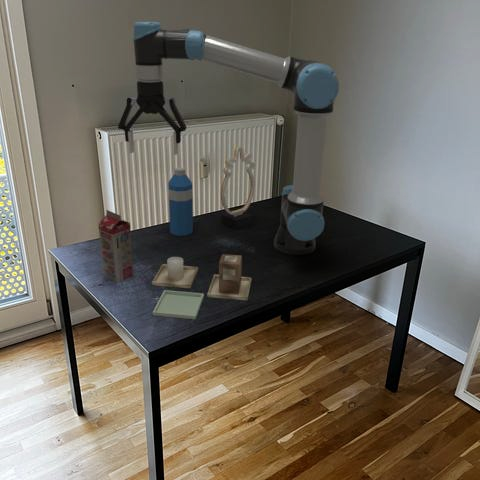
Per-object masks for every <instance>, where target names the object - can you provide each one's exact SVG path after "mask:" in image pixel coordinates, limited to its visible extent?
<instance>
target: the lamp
mask: <svg viewBox="0 0 480 480" xmlns="http://www.w3.org/2000/svg"><path fill="white" fill-rule="evenodd" d="M244 152H245V151H244V148H243V147H241V146H236V147H235V148H234V152H233V158H231V157H227V158H226V159H225V165H226V166H225V167H224V168H223V174H224V175H225V176H224V178H223V181H222V184H221V187H220V200H221V205H222V207H223V209H224V211H225V212H224V213H221V216H220V217H221V219H220V222H221V223H222V224H224V225H226V226H228V227H230V228H232V229H234V230H237V229H240V228H243V227H246V226H250V225H252V220H253V219H252V218H253V215H252V214H249V213H247V212H246V211H247V210H248V209H249V207H250V205H251V203H252V200H253V198H254V193H255V186H256V184H255V183H256V182H255V177H254V174H253V173H254V172H252V171H253V170H254V169H255V168H256V164H255V162H254V161H251V159H252V158H253V154H252V153H249V152H247V153H244ZM239 158H240V160H241V163H244V164H246V165H250V166H248V167H246V172H247V174H248V177H249V181H250V188H249V193H248V198H247V200H246V202H245V204H244V206H243V207H242V208H239V209H237V208H236V209H233V210H230V209H229V208H228V205H227V202H226V197H225V196H226V195H225V193H226V188H227V184H228V181H229V179H230V177H231V175H232V172H230V171H229V170H231V169H233V168H234V165H233V163H234V164H236V163H237V162H238V160H239Z"/></svg>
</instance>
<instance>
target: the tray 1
mask: <svg viewBox="0 0 480 480" xmlns="http://www.w3.org/2000/svg"><path fill="white" fill-rule="evenodd" d="M183 268H184V278H183V279H182V280H179V281H171V280H169V279H168V269H167V263H164V264H163V263H162V264H161V265H160V268H159V269H158V271H157V272H156V274H155V276H154V278H153V280H152V281H151V285H152V286H157V287H158V286H159V287H168V288H170V287H171V288H179V289H180V288H181V289H191V288H192V286H193V283H194V281H195V278H196V277H197V274H198V271H199V266H188V265H183Z"/></svg>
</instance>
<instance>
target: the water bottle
mask: <svg viewBox="0 0 480 480" xmlns="http://www.w3.org/2000/svg"><path fill="white" fill-rule="evenodd" d="M167 184H168V185H167V188H168V207H169V208H168V210H169V231H170V234H171V235H173V234H174V236H176V235H177V237H180V236H181V237H183V236H184V237H185V236H188V235H191V234H192V233H194V224H193V223H194V215H193V213H194V211H193V210H194V209H193V208H194V207H193V205H194V203H193V200H194V199H193V182H192V180H191V179H190V178H189V177H188V175H187V174H186V168H185V167H175V168H174V174H173V175H172V177H171V178H170V179H169V181H168V182H167Z"/></svg>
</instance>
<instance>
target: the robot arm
mask: <svg viewBox="0 0 480 480" xmlns="http://www.w3.org/2000/svg"><path fill="white" fill-rule="evenodd" d="M133 45H134V46H133V47H134V59H135V77H136V78H135V79H137V82H136V91H137V97H132V96H129V97H127V98H126V106H125V108H124V111H123V113H122V115H121V118H120V121H119V122H118V125H117V128H118V129H119V130H123V131H124V137H125V142H127V143H128V149H129V154H133V153H135V142H134V130H133V129H131V128H132V127H133V125H134V124H135V123H136V122H137V121H138V119H140V117H141V116H142V114H143V113H144V114H147V115H149V114H153V115H157V114H159V115H160V116H161V117H162V118H163V119H164V120H165V121H166V122H167V123H168V125H169V126H170V127H171V129H172V130H173V133H172V138H173V140H172V141H173V155H174V156H177V154H179V153H178V152H179V150H178V149H179V148H178V144H180V143H181V142H182V137H181V136H182V135H181V132H185V131H186V130H187V125H186V123H185V121H184V119H183V117H182V115H181V114H180V112H179V109H178V107H177V105H176V100H175V99H176V98H174V97H171V98H165V95H164V92H165V91H164V82H163V81H162V80H163V79H164V76H163V75H164V73H163V70H164V69H163V59H166V60H170V59H171V60H190V61H193V60H198V61H202V62H205V63H209V64H211V65H214V66H215V65H216V66H219V67H222V68H226V69H228V70H232V71H236V72H239V73H243V74H245V75H249V76H253V77H256V78H258V79H263V80H265V81H269V82H272V83H276V84H277V85H278V87H279V88H281V89H284V90H287V91H289V92H291V93H293V94H294V96H293V97H294V99H293V112H294V114H296V115H297V128H296V141H295V145H296V146H295V153H294V154H295V156H294V169H293V183H292V184H290V185H289V184H288V185H286V186H284V187H283V188H282V192H281V208H280V225H279V228H278V229H277V232H276V234H275V237H274V240H273V246H274V248H275V250H277V251H278V252H280V253H282V254H286V255H290V256H305V255H309V254H312V253H313V252H314V251H315V250H316V238H317V237H319V236H321V234H322V232H324V228H325V218H324V216H323V211H324V209H323V208H324V200H325V199H324V196H323V195H322V194H321V193H320V192H321V191H320V190H321V184H322V183H321V181H322V173H323V161H324V152H325V143H326V142H325V139H326V130H327V122H328V118H329V116H331V115H332V114H333V113H334V104H335V100H336V98H337V96H338V93H339V90H340V89H339V88H340V85H339V84H340V83H339V78H338V76H337V74H336V72H335V71H334V70H333V68H332V67H330V66H329V65H328V64H326V63H321V62H320V61H316V60H311V59H310V60H309V59H301V58H298V57H293V56H290V55H289V56H287V57H285V58H284V57H280V56H278V55H275V54H271V53H269V52H268V53H267V52H263V51H260V50H257V49H254V48H251V47H248V46H244V45H241V44H237V43H234V42H230V41H227V40H225V39H220V38H218V37H214V36H211V35H206V34H204V33H203V32H202V30H194V29H189V28H185V29H183V28H182V29H180V30H178V29H173V30H171V29H170V30H169V29H168V30H167V29H162V27H161V23H160V22H158V21H136V22H135V23H134V24H133ZM135 104H137V105H138V107H139V109H138V110H136V112H135V114H134V115H133V116H132V118H131V119H130V120H129V121H128V123H127V120H128V118H129V115H130V113H131V111H132V108H133V106H134V105H135ZM165 105H167V106H168V107H169V108H170V111H171V112H172V114H173V116H174V118H175V120H176V121H177V123H176V121H175V120H174V119H173V118H172V117H171V115H170V114H169V113H168V111H167V110H166V109H165V108H164V106H165ZM126 123H127V124H126Z"/></svg>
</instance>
